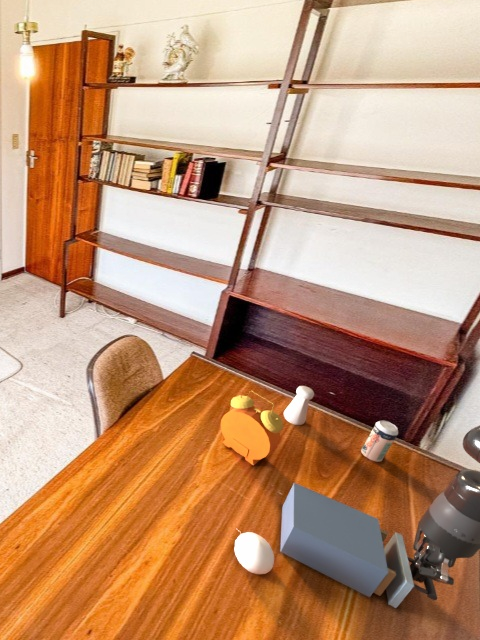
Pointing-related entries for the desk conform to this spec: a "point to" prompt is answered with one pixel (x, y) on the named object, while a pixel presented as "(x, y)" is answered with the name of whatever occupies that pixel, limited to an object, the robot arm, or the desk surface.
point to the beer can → (379, 440)
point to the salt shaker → (299, 406)
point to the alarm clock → (251, 429)
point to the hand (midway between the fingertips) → (413, 576)
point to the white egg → (254, 553)
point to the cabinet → (333, 539)
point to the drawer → (400, 573)
